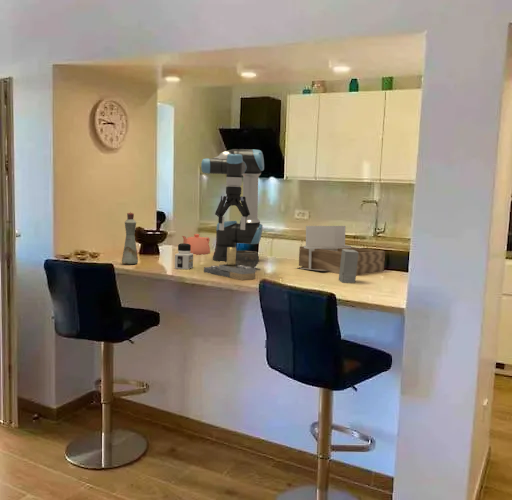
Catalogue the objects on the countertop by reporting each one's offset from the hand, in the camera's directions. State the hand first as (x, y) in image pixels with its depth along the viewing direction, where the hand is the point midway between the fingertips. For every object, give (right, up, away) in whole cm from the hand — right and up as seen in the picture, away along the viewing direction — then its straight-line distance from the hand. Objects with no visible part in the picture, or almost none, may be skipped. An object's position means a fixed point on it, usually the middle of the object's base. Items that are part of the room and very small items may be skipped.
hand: (232, 230), depth 280 cm
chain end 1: (-5, -22, +7) cm, 23 cm away
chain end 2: (+2, -23, -1) cm, 23 cm away
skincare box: (+55, -26, -5) cm, 61 cm away
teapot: (-27, -13, +83) cm, 89 cm away
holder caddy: (+59, -21, +38) cm, 73 cm away
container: (-27, -20, +23) cm, 40 cm away
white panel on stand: (+50, -20, +39) cm, 66 cm away
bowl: (+6, -21, +23) cm, 32 cm away
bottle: (-57, -17, +32) cm, 68 cm away
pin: (-1, -22, +2) cm, 23 cm away
